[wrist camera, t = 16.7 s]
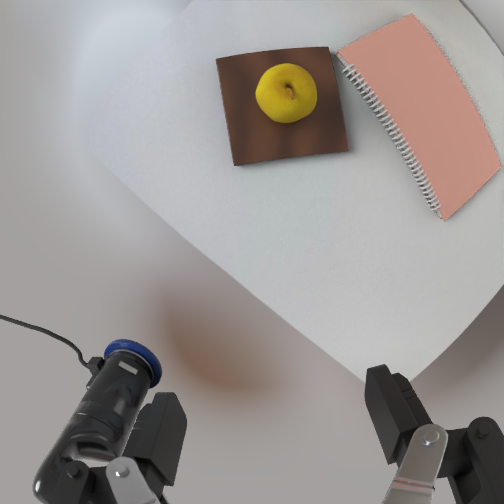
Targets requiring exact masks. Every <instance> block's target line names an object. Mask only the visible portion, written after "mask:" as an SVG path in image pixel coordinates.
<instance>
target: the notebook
mask: <svg viewBox="0 0 504 504" xmlns="http://www.w3.org/2000/svg"><path fill="white" fill-rule="evenodd" d="M335 55H336V56H337V58H338V59H339V60H340V61H341V62H342V63H343V65H344V66H345V67H346V68H345V69H344V70H342V72H346V71H347V70H348V71H349V73H348V74H347V75H346V77H348V76H350V75H351V74H352V76H353V77H352V78H351V79H350V81H352V80H354V79H356V82H355V83H354V84H353V85H356V84H358V83H359V85H360V86H359V87H358V88H356V89H357V90H358V89H360V88H363V91H362V92H360V94H363V93H364V92H366V94H367V95H365V96H364V97H363V99H365V98H367V97H369V98H370V99H369V100H368V101H367V102H366V103H370V102H371V101H372V102H373V104H372V105H370V108H372V107H374V106H376V108H375V109H374V110H373V112H377V111H378V110H379V113H378V114H377V115H376V117H379V116H381V115H382V116H383V117H381V118H380V119H379V121H380V122H381V121H383V120H385V122H384V123H383V124H382V126H386V125H389V126H387V127H386V128H385V130H386V131H388V130H390V129H391V131H390V132H389V133H388V135H392V134H394V135H393V136H392V137H391V139H392V140H394V139H396V140H395V141H394V144H398V145H397V149H401V148H402V149H401V150H400V151H399V152H400V153H401V154H402V153H404V154H403V155H402V158H406V159H405V162H406V163H408V162H409V163H408V164H407V166H408V167H411V168H410V171H411V172H413V173H412V175H413V176H415V178H414V179H415V180H417V184H418V185H419V188H420V189H422V190H421V192H422V193H424V195H423V196H424V197H425V198H426V201H427V202H428V205H429V206H430V209H431V206H434V207H435V208H434V209H431V210H436V212H437V214H438V216H439V218H440V219H441V218H443V219H444V221H446V220H447V219H448V218H449V217H450V216H451V215H452V214H454V213H455V212H456V211H457V210H458V209H459V208H460V207H461V206H462V205H463V204H464V203H465V202H467V201H468V200H469V199H470V198H471V197H472V196H473V195H474V194H475V193H476V192H477V191H478V190H479V189H480V188H481V187H482V186H483V185H484V184H485V183H486V182H487V181H488V180H489V179H490V178H491V177H492V176H493V175H494V174H495V173H496V172H497V171H498V170H499V169H500V168H501V167H502V166H501V163H500V161H499V158H498V155H497V153H496V150H495V148H494V145H493V143H492V141H491V138H490V136H489V134H488V131H487V129H486V127H485V125H484V123H483V121H482V119H481V116H480V114H479V112H478V110H477V108H476V107H475V105H474V103H473V101H472V99H471V97H470V95H469V94H468V92H467V90H466V88H465V86H464V85H463V83H462V81H461V80H460V78H459V76H458V75H457V73H456V72H455V70H454V68H453V67H452V65H451V64H450V62H449V61H448V59H447V58H446V56H445V55H444V53H443V52H442V50H441V49H440V48H439V46H438V45H437V43H436V42H435V41H434V39H433V38H432V37H431V35H430V34H429V33H428V31H427V30H426V29H425V28H424V26H423V25H422V24H421V23H420V21H419V20H418V19H417V18H416V17H415V15H414V14H413V13H412V14H409V15H407V16H405V17H402V18H400V19H398V20H396V21H393V22H391V23H389V24H387V25H385V26H383V27H381V28H379V29H377V30H375V31H373V32H371V33H369V34H367V35H365V36H363V37H361V38H359V39H357V40H355V41H354V42H352V43H350V44H348V45H346V46H344V47H343V48H341V49H339V50H337V53H335ZM389 127H390V128H389ZM395 136H396V137H395ZM397 141H398V142H397ZM399 143H400V144H399ZM400 145H401V147H399V146H400ZM402 150H404V151H402ZM401 151H402V152H401ZM405 154H407V156H404V155H405ZM407 159H410V160H408V161H406V160H407ZM410 163H412V165H409V164H410ZM413 167H414V168H415V169H414V170H411V169H412V168H413ZM415 172H417V174H414V173H415ZM417 176H419V177H420V178H418V179H416V177H417ZM420 180H421V181H422V183H418V182H419V181H420ZM421 185H424V187H421ZM424 189H426V191H425V192H423V190H424ZM426 193H428V196H425V194H426ZM428 197H430V200H427V198H428ZM431 201H432V204H429V202H431Z"/></svg>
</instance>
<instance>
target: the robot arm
mask: <svg viewBox="0 0 504 504" xmlns="http://www.w3.org/2000/svg"><path fill="white" fill-rule="evenodd" d="M0 319H3V320H6V321H9V322H12V323H15V324H18V325H21V326H24V327H27V328H30V329H34V330H37V331H40V332H43V333H45V334H48V335H50V336H52V337H54V338H56V339H58V340H60V341H62V342H64V343H66V344H68V345H69V346H70V347H72V348H73V349H74V350H75V351H76V352H77V353H78V357H79V361H80V362H81V363H82V365H84V366H85V367H86V368H88V369H89V370H90V372H91V373H92V375H93V376H92V377H91V379H90V380H89V382H88V384H87V385H86V388H87V390H88V391H87V392H86V394H85V395H84V397H83V398H82V400H81V402H80V404H79V405H78V407H77V408H76V410H75V412H74V413H73V415H72V417H71V418H70V420H69V422H68V423H67V425H66V426H65V428H64V430H63V431H62V433H61V434H60V436H59V438H58V439H57V441H56V443H55V444H54V446H53V447H52V449H51V450H50V452H49V453H48V455H47V456H46V458H45V459H44V461H43V462H42V464H41V466H40V467H39V469H38V471H37V473H36V475H35V478H34V481H33V494H34V496H35V497H36V498H37V499H38V500H39V501H40V502H42V503H43V504H170V502H169V501H168V499H167V498H166V496H165V494H164V493H163V488H164V485H166V486H173V485H174V481H175V476H176V472H177V467H178V462H179V458H180V454H181V450H182V445H183V441H184V437H185V432H186V428H187V419H186V415H185V413H184V411H183V409H182V407H181V405H180V403H179V400H178V398H177V396H176V394H175V393H173V392H166V393H165V392H159V393H156V394H155V396H154V399H153V402H152V404H146V405H145V406H144V407H143V408H142V409H141V410H140V408H141V405H142V403H143V401H144V398H145V396H146V394H147V391H148V389H149V387H150V384H151V383H152V381H153V379H154V369H153V367H152V365H151V364H150V362H149V361H148V360H147V359H146V358H145V357H144V356H143V355H141V354H140V353H138V352H136V351H134V350H131V349H128V348H118V349H115V350H113V351H112V352H111V354H110V355H106V356H105V358H104V359H103V357H92V358H91V360H90V361H89V362H88V363H86V362H85V361H84V360H83V356H82V353H81V351H80V350H79V349H78V348H77V347H76V346H75V345H74V344H73V343H72V342H70V341H69V340H67V339H65V338H63V337H61V336H59V335H57V334H55V333H53V332H51V331H49V330H46V329H44V328H41V327H38V326H34V325H30V324H27V323H24V322H21V321H18V320H15V319H12V318H9V317H6V316H2V315H0ZM365 402H366V406H367V409H368V411H369V414H370V417H371V419H372V422H373V424H374V427H375V430H376V432H377V435H378V438H379V441H380V443H381V446H382V449H383V451H384V454H385V457H386V460H387V463H388V465H389V464H392V463H395V462H396V463H397V465H398V470H397V473H396V475H395V477H394V479H393V481H392V483H391V485H390V487H389V489H388V491H387V494H386V495H385V497H384V499H383V501H382V503H381V504H430V503H431V500H432V497H433V495H434V491H435V488H434V484H435V481H436V479H437V478H444V477H447V478H448V481H449V483H450V486H451V489H452V492H453V495H454V498H455V501H456V504H504V435H503V433H502V431H501V430H500V428H499V426H498V425H497V423H496V422H495V421H494V420H493V419H491V418H489V417H479V418H476V419H475V420H473V421H472V422H471V423H470V425H469V427H468V428H462V429H455V430H445V429H444V428H442V427H441V426H439V425H436V424H433V423H432V421H431V419H430V418H429V416H428V414H427V412H426V410H425V409H424V407H423V405H422V403H421V401H420V400H419V398H418V397H417V395H416V393H415V391H414V390H413V389H412V386H411V384H410V383H409V381H408V379H407V378H405V377H404V376H402V375H401V374H400V373H395V374H391V373H390V371H389V369H388V367H387V366H386V365H385V364H383V365H379V366H376V367H372V368H368V369H367V375H366V385H365ZM139 410H140V412H139ZM138 413H139V414H138ZM137 415H138V416H137ZM136 418H137V419H136ZM135 420H136V422H135ZM134 422H135V424H134ZM133 425H134V426H133ZM132 427H133V429H132ZM131 430H132V431H131ZM130 432H131V434H130ZM129 435H130V436H129ZM128 437H129V439H128ZM127 440H128V441H127ZM126 442H127V444H126ZM125 445H126V446H125ZM124 448H125V449H124ZM123 450H124V451H123ZM122 453H123V454H122ZM121 455H122V456H121ZM78 459H89V460H96V461H101V462H109V464H108V465H107V466H105V467H92V468H89V467H88V466H87V465H86V464H85V463H84V462H82V461H78Z"/></svg>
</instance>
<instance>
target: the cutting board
mask: <svg viewBox="0 0 504 504" xmlns="http://www.w3.org/2000/svg"><path fill="white" fill-rule="evenodd" d="M285 63H290V64H294V65H297V66H300V67H302V68H303V69H305V70H306V71H307V72H308V73H309V74H310V75H311V77H312V78H313V80H314V82H315V85H316V90H317V102H316V105H315V108H314V109H313V111H312V112H311V113H310V114H308V115H307V116H305V117H304V118H302V119H300V120H297V121H295V122H291V123H282V122H276V121H274V120H272V119H271V118H270V117H269V116H268V115H267V114H266V113H265V112H263V110H262V109H261V108H260V106H259V104H258V102H257V99H256V89H257V86H258V84H259V81H260V79H261V77H262V76H263V74H264V73H265V72H266V71H267V70H268V69H270V68H272V67H274V66H276V65H279V64H285ZM216 64H217V70H218V76H219V82H220V88H221V94H222V99H223V105H224V111H225V117H226V123H227V129H228V134H229V140H230V146H231V152H232V157H233V163H234V166H237V165H242V164H249V163H255V162H261V161H268V160H275V159H282V158H289V157H297V156H305V155H314V154H323V153H333V152H344V151H349V150H348V143H347V136H346V130H345V124H344V118H343V112H342V107H341V102H340V97H339V92H338V87H337V82H336V77H335V73H334V68H333V64H332V60H331V56H330V52H329V48H328V47H307V48H291V49H280V50H270V51H262V52H254V53H247V54H241V55H234V56H229V57H223V58H218V59H216Z"/></svg>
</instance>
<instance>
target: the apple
mask: <svg viewBox="0 0 504 504" xmlns="http://www.w3.org/2000/svg"><path fill="white" fill-rule="evenodd" d="M256 99H257V102H258V104H259V106H260V108H261V109H262V110H263V112H265V113H266V114H267V115H268V116H269V117H270V118H271V119H272V120H274V121H276V122H282V123H291V122H295V121H297V120H300V119H302V118H304V117H305V116H307V115H308V114H310V113H311V112H312V111H313V109H314V108H315V105H316V102H317V90H316V85H315V82H314V80H313V78H312V77H311V75H310V74H309V73H308V72H307V71H306V70H305V69H303V68H302V67H300V66H297V65H294V64H290V63H285V64H279V65H276V66H274V67H272V68H270V69H268V70H267V71H266V72H265V73H264V74H263V76H262V77H261V79H260V81H259V84H258V86H257V89H256Z"/></svg>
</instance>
